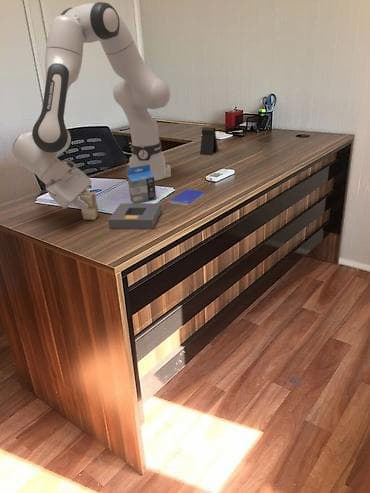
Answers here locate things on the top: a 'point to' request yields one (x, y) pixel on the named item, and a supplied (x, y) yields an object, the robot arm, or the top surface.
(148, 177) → the label tape box
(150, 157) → the robot arm
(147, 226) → the block
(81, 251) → the top surface
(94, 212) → the birch peg
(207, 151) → the phone stand
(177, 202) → the hard drive
